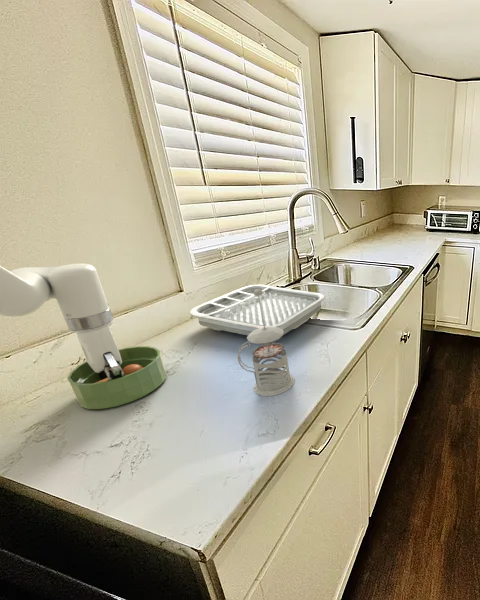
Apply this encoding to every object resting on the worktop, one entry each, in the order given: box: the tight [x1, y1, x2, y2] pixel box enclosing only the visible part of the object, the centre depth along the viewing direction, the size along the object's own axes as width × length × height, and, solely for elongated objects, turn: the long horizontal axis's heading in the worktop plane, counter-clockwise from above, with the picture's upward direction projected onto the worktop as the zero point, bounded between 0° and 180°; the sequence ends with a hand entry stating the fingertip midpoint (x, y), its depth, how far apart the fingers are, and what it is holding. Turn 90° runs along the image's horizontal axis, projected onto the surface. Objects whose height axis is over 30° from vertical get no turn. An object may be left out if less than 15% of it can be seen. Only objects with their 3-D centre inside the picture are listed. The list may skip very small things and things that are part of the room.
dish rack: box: [189, 284, 326, 336], centre depth 114 cm, size 32×37×8 cm
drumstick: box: [95, 364, 143, 383], centre depth 78 cm, size 12×5×5 cm, turn 143°
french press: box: [237, 289, 296, 397], centre depth 76 cm, size 10×12×25 cm
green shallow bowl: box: [66, 345, 167, 410], centre depth 79 cm, size 17×17×7 cm
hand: (115, 384), depth 78 cm, fingers open, 8 cm apart
